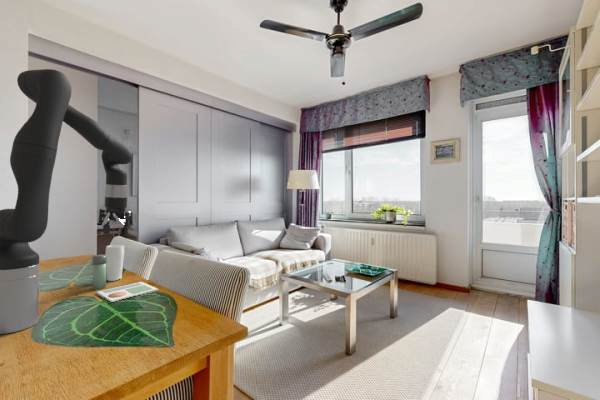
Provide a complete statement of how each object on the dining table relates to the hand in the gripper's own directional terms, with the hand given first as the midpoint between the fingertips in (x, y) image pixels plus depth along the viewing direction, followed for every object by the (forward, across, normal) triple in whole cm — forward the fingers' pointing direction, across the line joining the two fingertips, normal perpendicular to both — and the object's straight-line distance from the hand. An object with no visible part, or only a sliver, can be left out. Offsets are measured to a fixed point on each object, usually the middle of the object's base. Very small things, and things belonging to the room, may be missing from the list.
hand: (115, 235), depth 110 cm
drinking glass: (+22, -6, +6) cm, 24 cm away
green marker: (+21, -3, -4) cm, 22 cm away
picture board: (+20, +12, -5) cm, 24 cm away
